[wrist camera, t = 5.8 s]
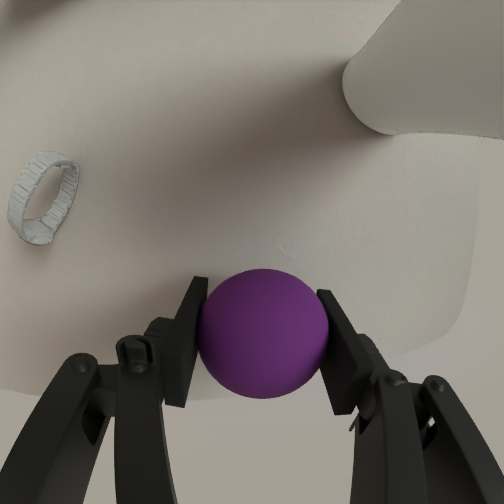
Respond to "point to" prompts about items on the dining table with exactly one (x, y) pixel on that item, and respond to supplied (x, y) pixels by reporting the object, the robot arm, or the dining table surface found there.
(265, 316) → the ball
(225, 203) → the dining table surface
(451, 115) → the drinking glass
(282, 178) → the dining table surface
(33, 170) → the wristwatch
